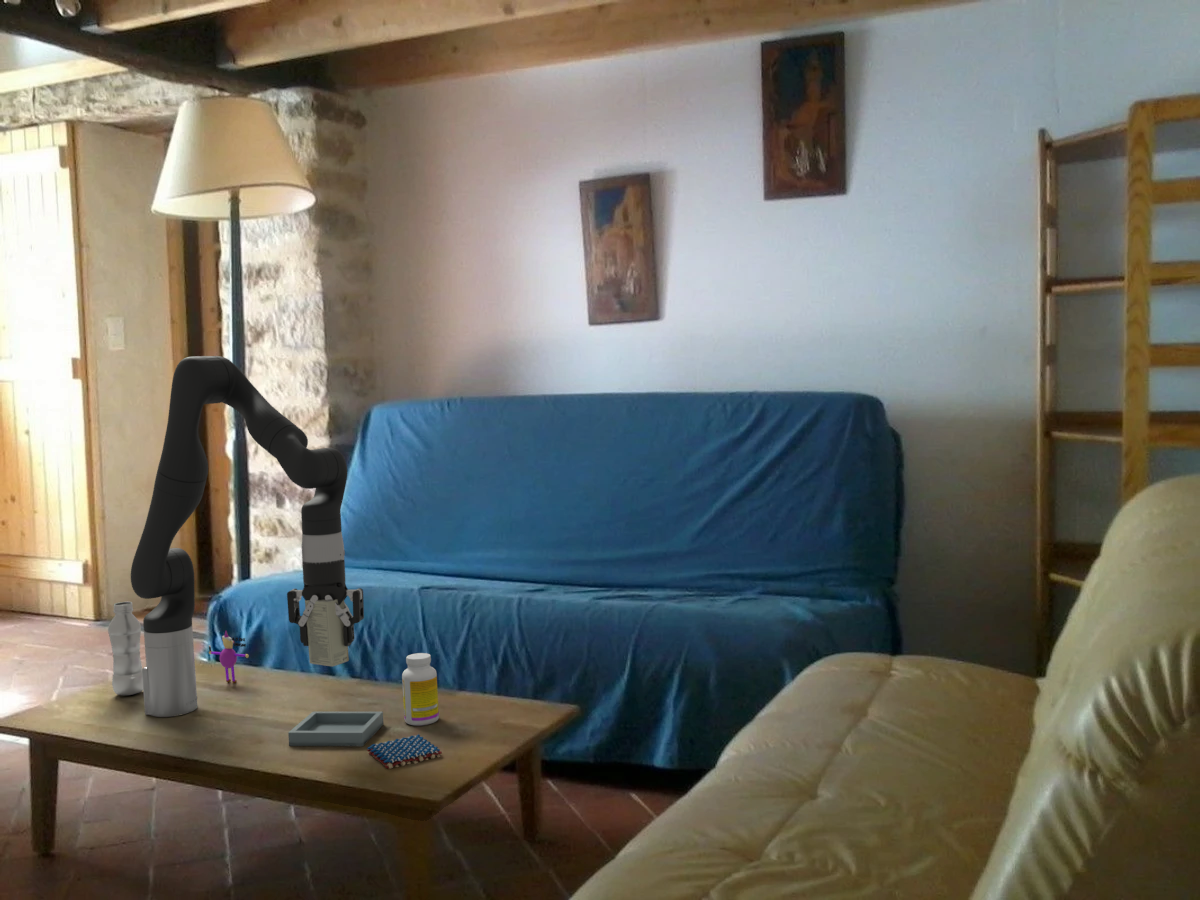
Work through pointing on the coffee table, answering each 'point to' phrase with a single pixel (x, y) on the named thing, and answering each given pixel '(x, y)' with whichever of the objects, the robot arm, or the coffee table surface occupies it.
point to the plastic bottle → (126, 650)
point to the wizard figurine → (229, 655)
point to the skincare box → (326, 634)
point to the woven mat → (403, 751)
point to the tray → (336, 729)
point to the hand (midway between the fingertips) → (327, 645)
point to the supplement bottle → (420, 690)
